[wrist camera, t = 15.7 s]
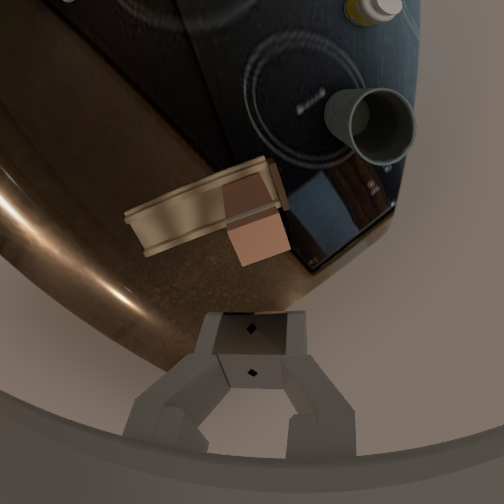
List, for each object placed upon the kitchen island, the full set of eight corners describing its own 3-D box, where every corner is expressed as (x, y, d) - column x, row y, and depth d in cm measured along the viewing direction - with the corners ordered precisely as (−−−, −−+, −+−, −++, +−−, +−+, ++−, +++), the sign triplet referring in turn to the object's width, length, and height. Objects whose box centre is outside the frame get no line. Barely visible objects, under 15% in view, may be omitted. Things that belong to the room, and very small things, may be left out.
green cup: (360, 153, 47) (397, 177, 37) (307, 129, 45) (336, 146, 34) (383, 101, 43) (427, 112, 33) (332, 72, 40) (368, 73, 30)
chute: (149, 254, 52) (146, 266, 49) (124, 211, 48) (119, 221, 45) (286, 203, 51) (291, 212, 48) (269, 153, 46) (274, 159, 43)
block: (233, 213, 49) (242, 266, 37) (221, 185, 47) (226, 231, 34) (269, 200, 49) (291, 249, 36) (259, 171, 46) (279, 212, 34)
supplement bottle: (366, -5, 33) (398, -17, 24) (378, 24, 36) (412, 17, 27) (337, -1, 33) (365, -15, 25) (350, 29, 36) (381, 22, 28)
